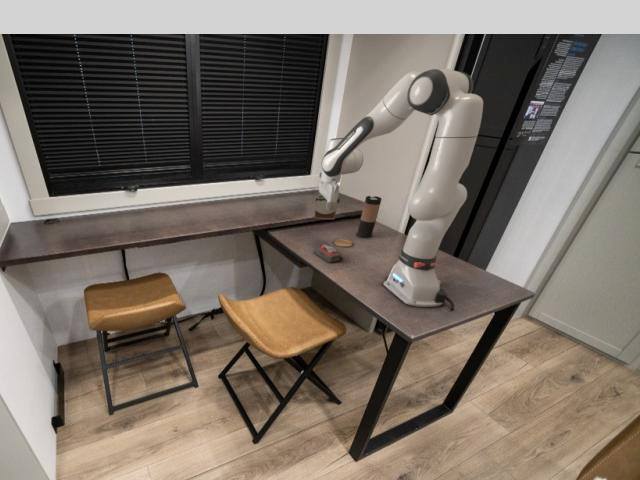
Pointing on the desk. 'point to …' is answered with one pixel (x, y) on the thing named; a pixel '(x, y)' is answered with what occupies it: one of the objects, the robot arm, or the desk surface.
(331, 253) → the walkie-talkie
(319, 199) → the food container
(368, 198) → the travel mug
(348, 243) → the cork coaster
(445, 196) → the robot arm
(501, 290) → the desk surface
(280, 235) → the desk surface
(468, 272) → the desk surface
